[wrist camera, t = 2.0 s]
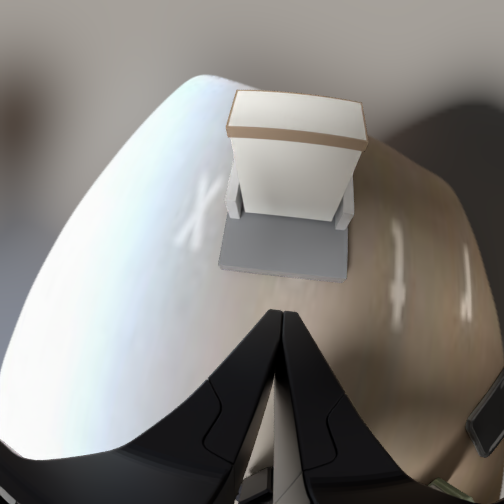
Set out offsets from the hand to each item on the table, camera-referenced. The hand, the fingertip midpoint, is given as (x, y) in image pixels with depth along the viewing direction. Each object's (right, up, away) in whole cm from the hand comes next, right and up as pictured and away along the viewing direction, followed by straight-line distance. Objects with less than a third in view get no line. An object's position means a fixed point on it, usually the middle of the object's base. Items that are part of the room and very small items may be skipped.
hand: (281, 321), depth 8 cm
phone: (+28, -13, +9) cm, 32 cm away
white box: (+2, +6, +14) cm, 16 cm away
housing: (+2, +6, +16) cm, 17 cm away
